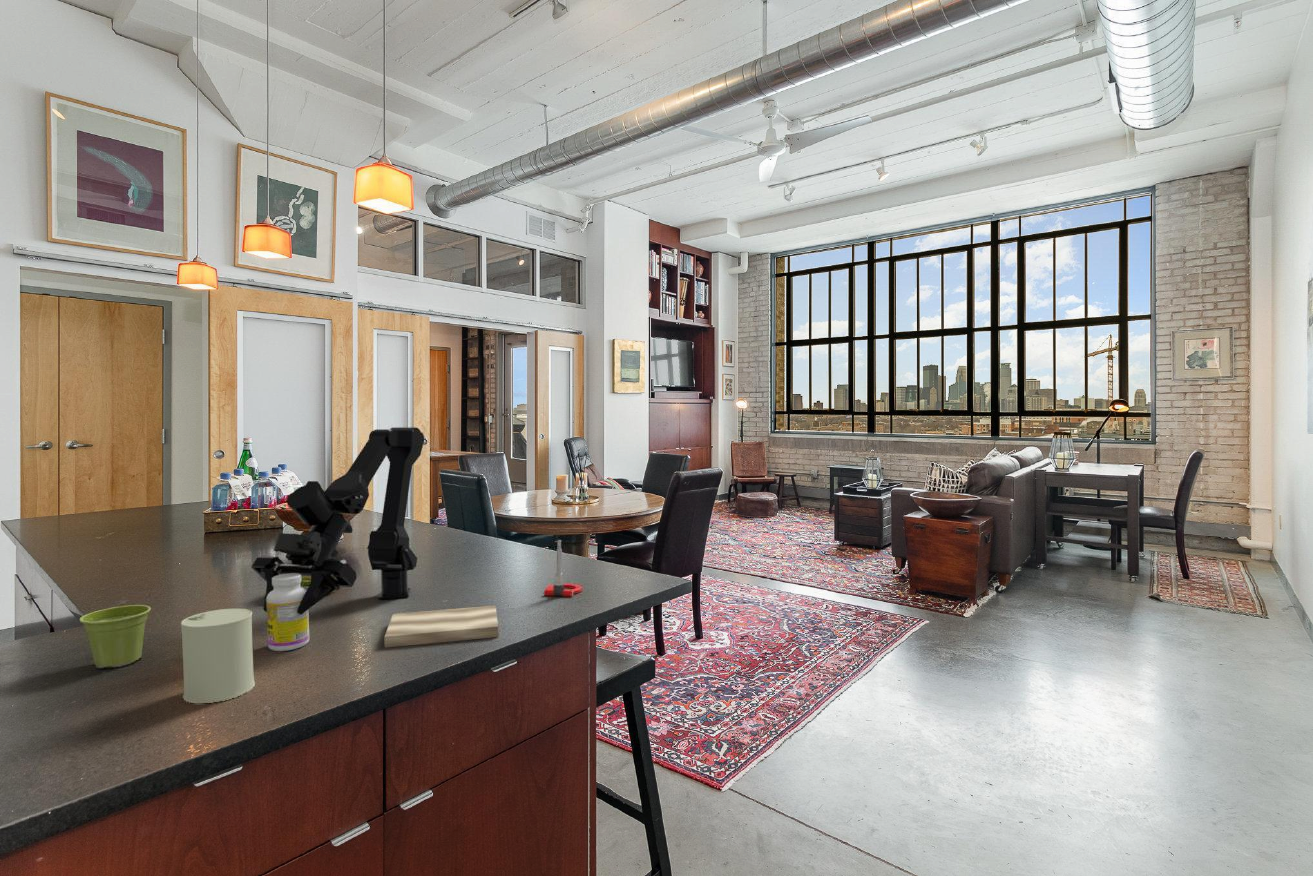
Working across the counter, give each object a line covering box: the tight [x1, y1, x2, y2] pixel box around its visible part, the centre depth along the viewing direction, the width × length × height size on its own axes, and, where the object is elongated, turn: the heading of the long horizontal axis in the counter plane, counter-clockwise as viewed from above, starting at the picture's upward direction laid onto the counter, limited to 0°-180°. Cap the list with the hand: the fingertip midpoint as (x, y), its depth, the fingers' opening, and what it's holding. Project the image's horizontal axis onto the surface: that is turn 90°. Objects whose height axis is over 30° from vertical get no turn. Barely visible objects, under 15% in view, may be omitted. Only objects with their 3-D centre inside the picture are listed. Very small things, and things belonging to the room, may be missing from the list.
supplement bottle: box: [266, 573, 310, 652], centre depth 122 cm, size 7×7×13 cm
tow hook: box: [543, 539, 583, 598], centre depth 157 cm, size 8×13×9 cm
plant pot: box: [79, 604, 152, 666], centre depth 114 cm, size 9×9×9 cm
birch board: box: [383, 605, 499, 648], centre depth 130 cm, size 14×20×2 cm
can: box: [180, 608, 256, 704], centre depth 102 cm, size 9×9×12 cm
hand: (282, 612), depth 120 cm, fingers closed on supplement bottle, 7 cm apart
